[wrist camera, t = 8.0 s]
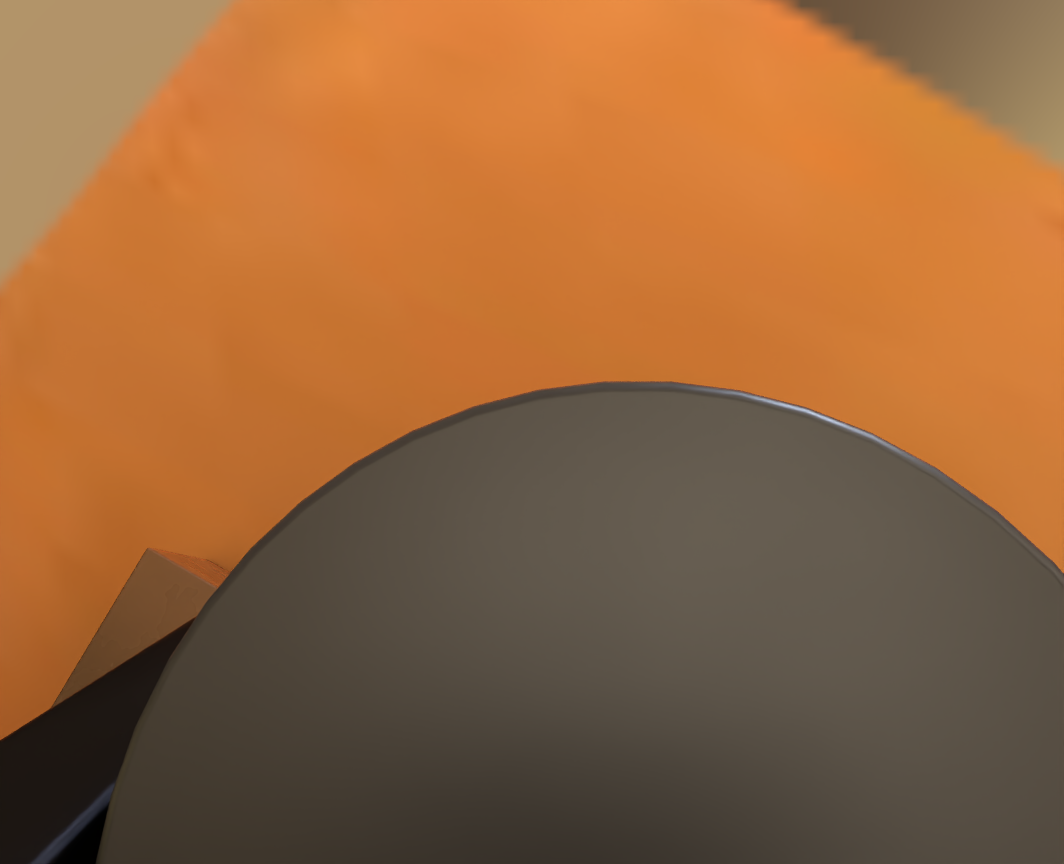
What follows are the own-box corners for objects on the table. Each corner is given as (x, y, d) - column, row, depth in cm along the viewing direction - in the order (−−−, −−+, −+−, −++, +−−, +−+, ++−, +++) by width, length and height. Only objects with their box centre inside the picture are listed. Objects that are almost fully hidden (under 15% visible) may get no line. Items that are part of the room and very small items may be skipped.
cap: (605, 1171, 12) (563, 2022, 4) (290, 736, 13) (-133, 842, 6) (1001, 813, 12) (1558, 1054, 5) (656, 428, 14) (684, 167, 6)
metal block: (326, 1118, 21) (277, 1195, 18) (6, 898, 22) (-88, 936, 19) (524, 743, 22) (507, 758, 19) (206, 558, 24) (147, 546, 21)
